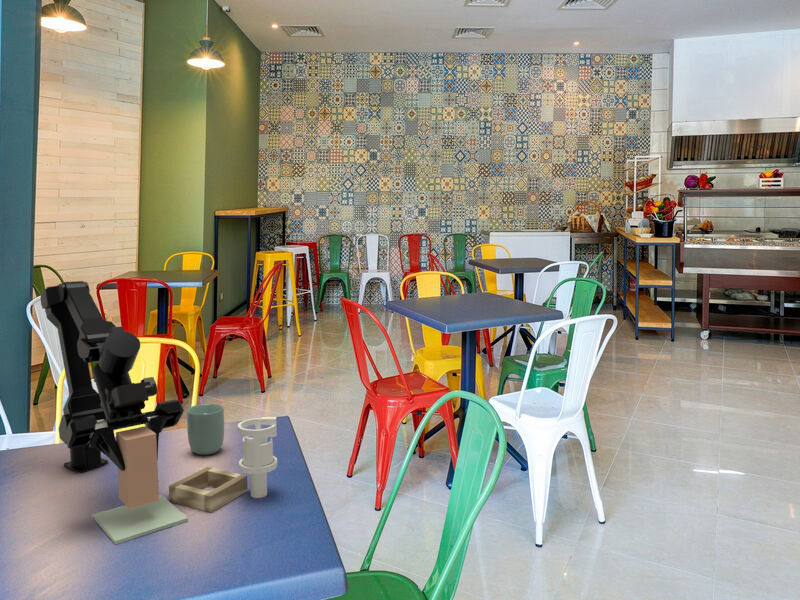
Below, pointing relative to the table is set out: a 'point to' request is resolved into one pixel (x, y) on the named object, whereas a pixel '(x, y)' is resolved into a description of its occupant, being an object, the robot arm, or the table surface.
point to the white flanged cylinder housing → (258, 453)
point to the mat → (139, 520)
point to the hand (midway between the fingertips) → (140, 465)
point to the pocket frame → (195, 497)
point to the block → (138, 467)
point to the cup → (205, 428)
